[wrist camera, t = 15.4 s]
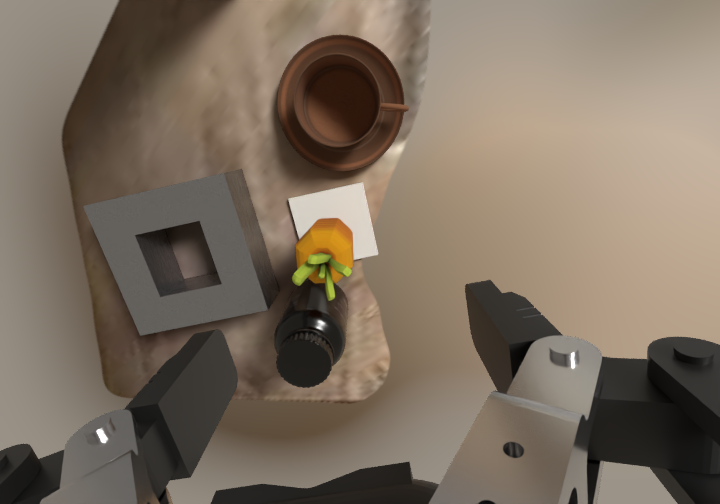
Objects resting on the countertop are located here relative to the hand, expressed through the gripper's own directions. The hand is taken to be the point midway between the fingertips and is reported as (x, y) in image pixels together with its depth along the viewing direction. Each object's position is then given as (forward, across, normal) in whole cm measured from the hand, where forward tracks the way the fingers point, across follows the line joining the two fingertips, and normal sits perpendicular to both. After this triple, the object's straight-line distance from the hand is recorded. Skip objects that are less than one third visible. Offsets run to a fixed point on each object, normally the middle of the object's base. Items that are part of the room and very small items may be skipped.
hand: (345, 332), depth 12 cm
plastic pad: (+28, +3, +3) cm, 29 cm away
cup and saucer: (+29, 0, -9) cm, 30 cm away
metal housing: (+28, +18, +2) cm, 34 cm away
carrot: (+28, +3, +2) cm, 28 cm away
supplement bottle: (+28, +7, +11) cm, 31 cm away
